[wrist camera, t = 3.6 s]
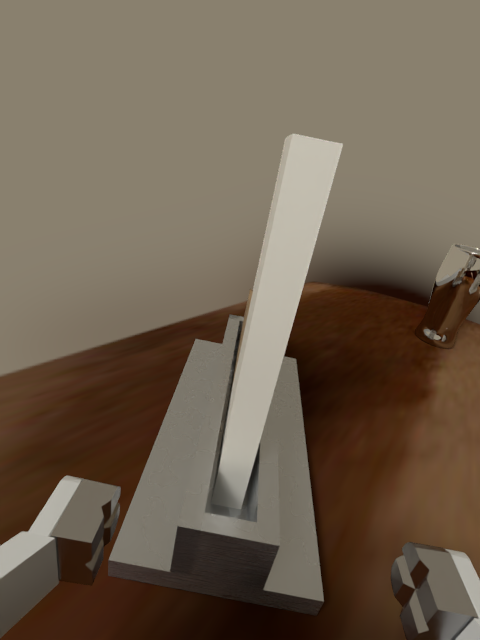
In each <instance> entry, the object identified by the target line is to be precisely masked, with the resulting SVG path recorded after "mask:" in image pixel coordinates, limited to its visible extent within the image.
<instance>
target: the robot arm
mask: <svg viewBox="0 0 480 640" xmlns="http://www.w3.org/2000/svg"><path fill="white" fill-rule="evenodd" d="M119 496H120V487H119V486H115V485H110V484H105V483H100V482H96V481H91V480H86V479H82V478H77V477H72V476H67V475H66V476H65V477H64V478H63V479H62V480H61V481H60V482H59V484H58V486H57V487H56V489H55V490H54V492H53V493H52V495H51V497H50V498H49V500H48V501H47V503H46V505H45V506H44V508H43V509H42V511H41V512H40V514H39V516H38V517H37V519H36V520H35V522H34V523H33V525H32V527H31V528H30V530H29V531H28V532H24V531H22V532H20V533H19V534H17V535H16V536H14V537H13V538H11V539H10V540H8V541H7V542H5V543H4V544H2V545H1V546H0V638H1V637H2V636H3V635H4V634H5V633H6V632H7V631H8V630H9V629H10V628H12V627H13V626H14V625H15V624H16V623H17V622H18V621H19V620H20V619H21V618H22V617H23V616H24V615H25V614H26V613H28V612H29V611H30V610H31V609H32V608H33V607H34V606H35V605H36V604H37V603H38V602H39V601H40V600H41V599H42V598H44V597H45V596H46V595H47V594H48V593H49V592H50V591H51V590H52V589H53V588H54V587H55V586H56V585H57V584H58V583H59V581H65V582H71V583H77V584H84V585H90V586H92V585H93V582H94V580H95V577H96V575H97V573H98V570H99V568H100V565H101V563H102V561H103V548H104V546H106V545H107V544H108V543H109V542H110V541H111V538H112V536H113V533H114V531H115V527H116V524H117V521H118V516H119V510H120V505H119V504H118V502H117V501H118V499H119ZM402 551H403V554H404V555H403V556H400V557H398V558H396V559H395V561H394V563H393V565H392V570H391V583H392V588H393V592H394V596H395V598H396V599H397V600H398V601H399V603H400V604H401V605H402V607H403V608H402V611H401V614H400V618H401V621H402V625H403V629H404V632H405V636H406V639H407V640H480V580H479V578H478V575H477V573H476V571H475V569H474V567H473V565H472V563H471V561H470V559H469V557H468V556H467V555H466V554H465V553H463V552H460V551H455V550H449V549H444V548H441V547H435V546H430V545H424V544H418V543H413V542H409V543H406V544H405V545H404V547H403V548H402Z"/></svg>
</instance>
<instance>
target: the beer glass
mask: <svg viewBox="0 0 480 640" xmlns="http://www.w3.org/2000/svg"><path fill="white" fill-rule="evenodd" d="M479 301H480V248H476V247H472V246H468V245H463V244H452V246H451V249H450V250H449V252H448V254H447V255H446V257H445V259H444V261H443V263H442V265H441V267H440V269H439V271H438V274H437V276H436V279H435V282H434V285H433V289H432V293H431V297H430V302H429V305H428V309H427V311H426V314H425V316H424V318H423V319H422V321H421V322H420V324H419V325H418V326H417V328H416V329H415V335H416V336H417V337H418V338H419V339H421V340H422V341H424V342H426V343H428V344H430V345H433V346H436V347H439V348H445V349H449V348H452V347H453V346H454V344H455V340H456V337H457V333H458V330H459V328H460V326H461V325H462V323H463V322H464V320H465V319H466V317H467V316H468V315H469V314H470V312H471V311H472V310H473V309H474V307H475V306H476V305H477V304H478V302H479Z"/></svg>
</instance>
